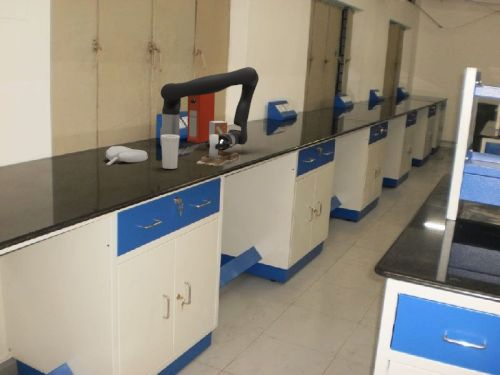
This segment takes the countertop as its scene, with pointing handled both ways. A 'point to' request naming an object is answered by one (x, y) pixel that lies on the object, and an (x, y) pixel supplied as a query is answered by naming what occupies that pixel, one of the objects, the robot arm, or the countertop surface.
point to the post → (213, 146)
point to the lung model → (125, 155)
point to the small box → (217, 127)
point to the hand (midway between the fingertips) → (211, 146)
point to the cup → (170, 150)
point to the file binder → (200, 117)
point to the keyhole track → (219, 159)
